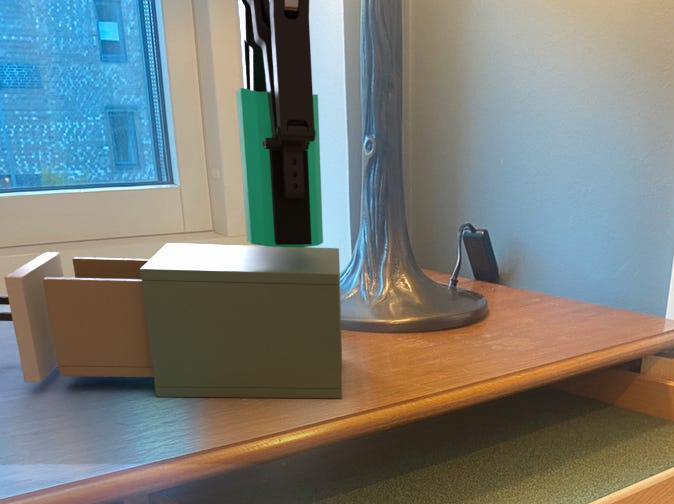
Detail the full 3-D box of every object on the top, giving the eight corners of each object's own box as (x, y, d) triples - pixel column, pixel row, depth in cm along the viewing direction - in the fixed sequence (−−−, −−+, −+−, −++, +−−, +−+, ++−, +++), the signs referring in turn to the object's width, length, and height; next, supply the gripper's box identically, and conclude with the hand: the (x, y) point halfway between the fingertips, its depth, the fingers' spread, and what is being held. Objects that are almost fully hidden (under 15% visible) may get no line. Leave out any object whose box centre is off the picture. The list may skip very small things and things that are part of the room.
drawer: (-43, 381, 74) (-67, 275, 70) (2, 345, 84) (-17, 250, 80) (202, 384, 76) (192, 281, 72) (218, 349, 86) (210, 256, 82)
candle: (270, 249, 73) (259, 67, 67) (233, 238, 77) (220, 65, 71) (337, 245, 77) (332, 71, 71) (299, 234, 81) (291, 69, 74)
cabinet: (155, 397, 76) (139, 269, 71) (179, 356, 86) (166, 243, 82) (342, 398, 78) (338, 273, 73) (342, 359, 88) (339, 248, 83)
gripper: (188, -115, 71) (217, 221, 83) (231, -161, 56) (259, 257, 68) (288, -104, 74) (303, 221, 85) (355, -145, 59) (362, 256, 71)
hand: (284, 236), depth 77 cm, fingers closed on candle, 6 cm apart
